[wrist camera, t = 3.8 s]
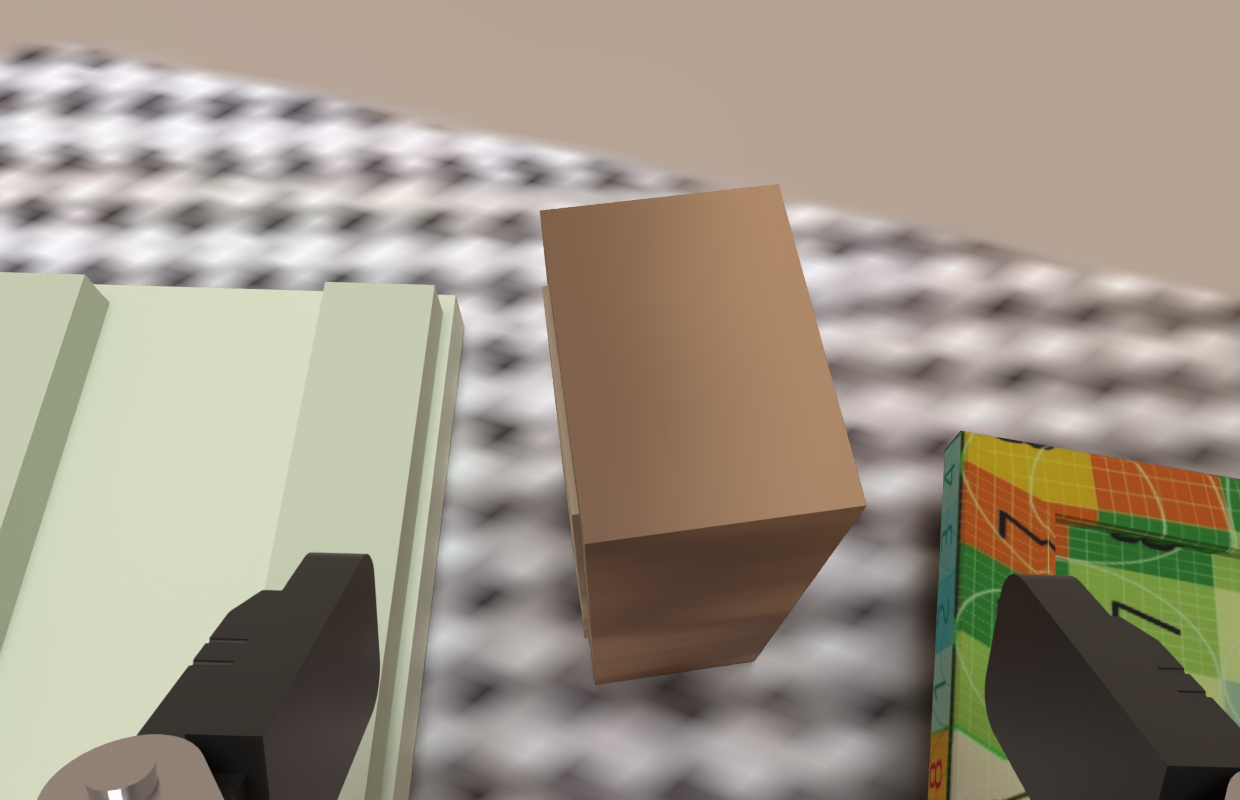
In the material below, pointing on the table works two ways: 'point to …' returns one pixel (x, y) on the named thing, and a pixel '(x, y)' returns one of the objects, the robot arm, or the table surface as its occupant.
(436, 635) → the table surface
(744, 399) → the wooden block
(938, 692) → the puzzle game
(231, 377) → the plinth
